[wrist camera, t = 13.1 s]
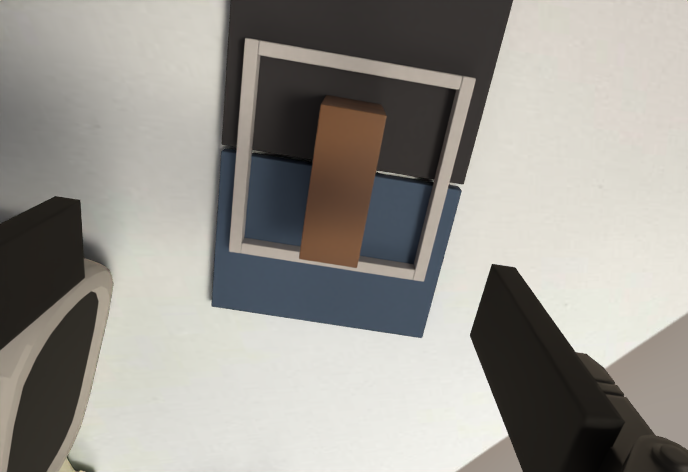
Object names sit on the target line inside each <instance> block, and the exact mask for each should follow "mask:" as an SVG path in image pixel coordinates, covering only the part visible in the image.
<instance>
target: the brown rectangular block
mask: <svg viewBox="0 0 688 472" xmlns="http://www.w3.org/2000/svg"><path fill="white" fill-rule="evenodd" d="M386 118H387V116H386V113H385V111H384V109H383V107H382V105H381V104H376V103H370V102H364V101H359V100H353V99H347V98H341V97H336V96H330V95H326V96H325V98H324V100H323V102H322V103H321V105H320V112H319V119H318V126H317V133H316V140H315V147H314V154H313V161H312V169H311V176H310V183H309V190H308V197H307V204H306V211H305V218H304V225H303V232H302V239H301V246H300V253H299V259H302V260H308V261H314V262H321V263H327V264H333V265H340V266H346V267H352V268H357V266H358V261H359V256H360V251H361V246H362V240H363V235H364V230H365V225H366V220H367V215H368V210H369V205H370V200H371V194H372V189H373V184H374V179H375V174H376V169H377V164H378V159H379V153H380V148H381V143H382V138H383V133H384V128H385V123H386Z"/></svg>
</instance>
